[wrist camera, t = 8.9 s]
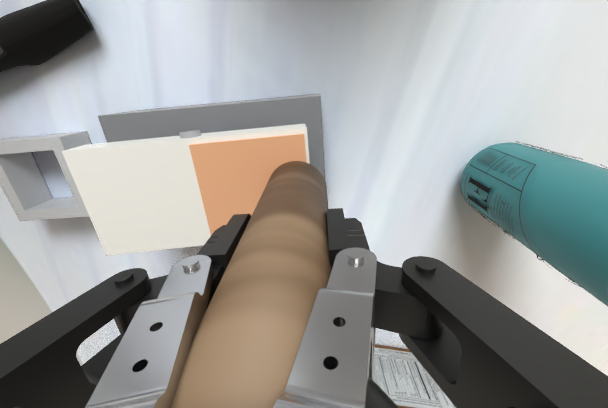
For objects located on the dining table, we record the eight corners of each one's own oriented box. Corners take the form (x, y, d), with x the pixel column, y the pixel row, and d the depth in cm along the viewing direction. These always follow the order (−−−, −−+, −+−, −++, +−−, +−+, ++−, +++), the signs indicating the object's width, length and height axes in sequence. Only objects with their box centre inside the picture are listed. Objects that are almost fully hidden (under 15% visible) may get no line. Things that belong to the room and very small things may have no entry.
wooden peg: (263, 163, 17) (81, 453, 4) (324, 158, 16) (348, 457, 4) (272, 217, 18) (160, 556, 5) (327, 214, 18) (352, 565, 5)
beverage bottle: (439, 160, 25) (762, 356, 7) (514, 121, 24) (1177, 242, 6) (464, 215, 28) (762, 479, 9) (534, 183, 26) (1063, 421, 8)
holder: (13, 137, 26) (-22, 143, 23) (86, 131, 26) (59, 137, 23) (48, 208, 29) (19, 221, 26) (114, 203, 28) (92, 216, 26)
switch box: (138, 110, 25) (76, 119, 18) (319, 93, 24) (320, 97, 17) (169, 212, 29) (126, 249, 22) (325, 202, 28) (329, 238, 21)
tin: (329, 351, 36) (333, 425, 28) (334, 333, 34) (339, 406, 27) (443, 368, 36) (479, 445, 28) (452, 351, 35) (492, 427, 27)
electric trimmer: (117, 39, 23) (89, 33, 20) (-32, 99, 25) (-77, 101, 22) (90, -14, 22) (56, -29, 19) (-65, 54, 24) (-117, 50, 21)
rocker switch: (83, 139, 18) (55, 146, 16) (304, 118, 18) (306, 122, 16) (123, 243, 21) (105, 261, 18) (312, 224, 21) (315, 239, 19)
